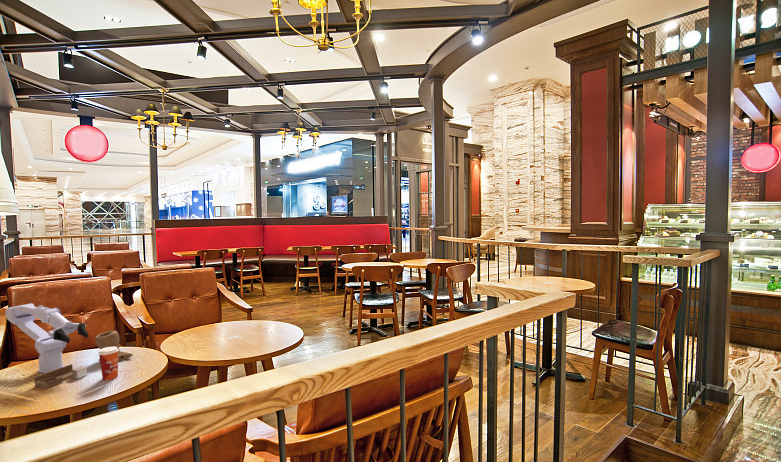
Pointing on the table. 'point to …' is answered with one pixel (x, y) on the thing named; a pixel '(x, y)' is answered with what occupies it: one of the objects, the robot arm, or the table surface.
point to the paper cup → (109, 362)
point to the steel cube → (79, 372)
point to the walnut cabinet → (53, 377)
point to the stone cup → (111, 343)
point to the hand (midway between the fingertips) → (78, 338)
